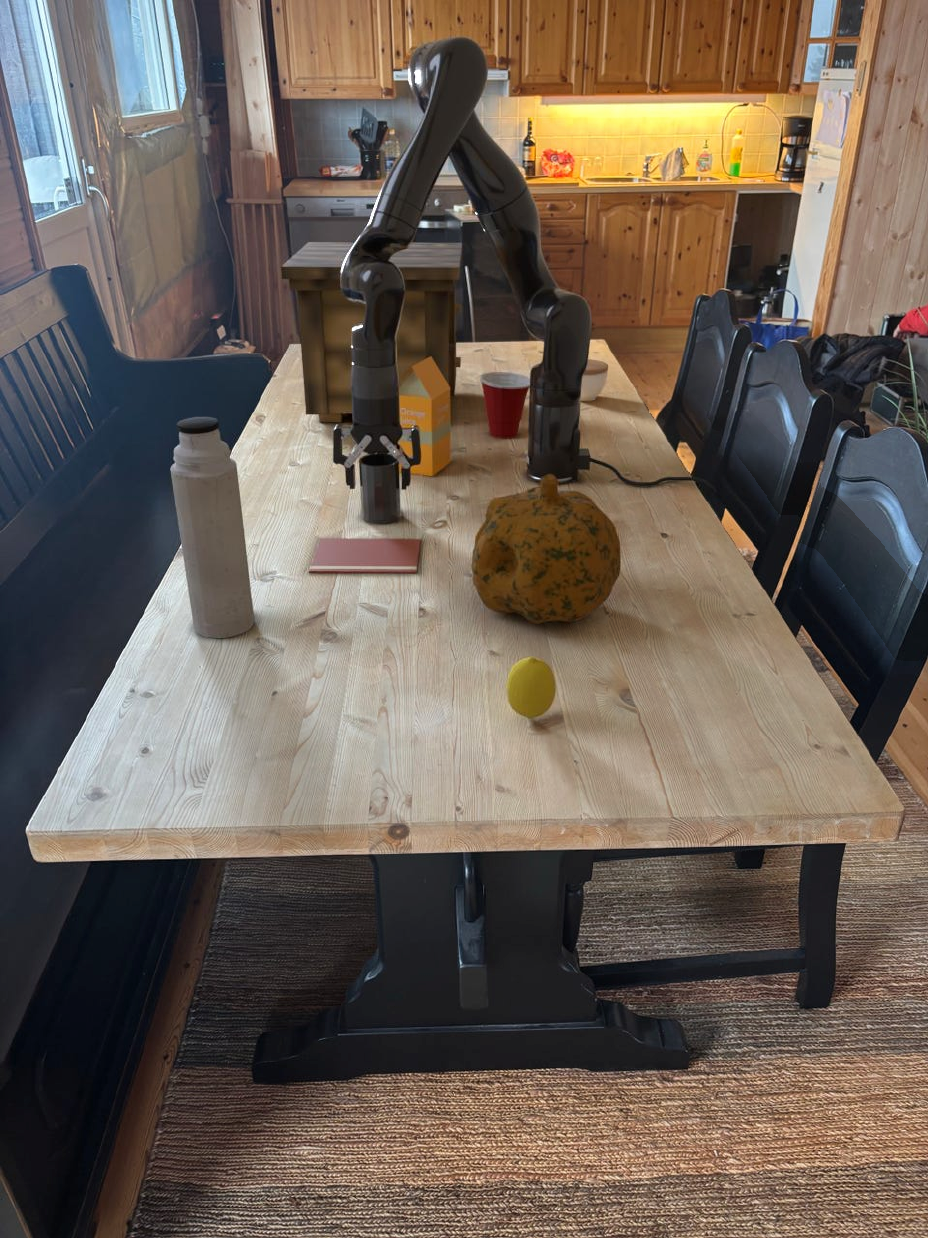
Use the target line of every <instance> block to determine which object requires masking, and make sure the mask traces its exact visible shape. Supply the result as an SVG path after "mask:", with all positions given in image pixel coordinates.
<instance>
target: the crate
mask: <svg viewBox="0 0 928 1238" xmlns="http://www.w3.org/2000/svg"><path fill="white" fill-rule="evenodd" d="M355 242H356V241H355ZM355 242H354V241H353V242H351V241H350V242H347V241H345V242H344V241H335V242H333V241H331V242H329V241H328V242H327V241H308V242H307V243H306V244H304V245H303V246H302V247H301V248H300V249H299V250H298V251H297V252H296V253H294V255H292V256H291V257H289V259H288V260H287V261H286V262H284V263H283V264H282V265H281V266H280V270H281V272H280V273H281V279H282V280H288V284H289V291H296V295H297V296H296V298H297V300H296V301H297V313H298V322H299V323H298V325H299V326H298V327H299V337H300V351H301V362H302V363H301V365H302V376H303V379H302V380H303V390H304V391H303V392H304V405H305V406H304V407H305V415H317V416H318V421H319V423H341V422H342V421H343V418H344V415H345V414H353V413H352V391H351V372H352V349H351V333H352V329H353V327H354V326H355V325H357V324H358V323H361V322H364V318H365V312H366V306H364V305H360V304H356V303H353V302H351V301H350V300H348V299H347V298H346V297H345V296H344V294H343V292H342V290H341V285H340V275H341V270H342V266H343V263H344V261H345V259H346V257H347V255H348V253H349V252H350V250H351V249H352V247H353V245H354V244H355ZM462 258H463V242H412V243H411V245H410V246H409V247H408V248H407V249H405V250H401V251H398V252H396V253H394V254H393V256H392V257H391V259H390V260H389V261H390V262H392V263H394V264H395V265H396V266H397V267H398V268H399V269H400V271H401V273H402V275H403V278H404V283H405V299H404V304H403V309H402V314H401V319H400V323H399V327H398V331H397V335H396V342H397V368H398V374H399V387H400V386H401V384H402V382H403V381H404V379H405V378H406V376H407V375H408V373H409V372H410V370H411V369H412V366H414V365H416V364H417V363H419V362H421V361H423V360H425V359H427V358H428V357H430V356H431V357H432V358H433V360H434V362H435V363H436V365H437V367H438V368H439V370H440V372H441V373H442V375H443V377H444V378H445V380H446V381H447V383H448V385H449V386H450V388H451V389H450V398H455V395H456V385H457V383H456V382H457V368H461V365H462V358H461V356H457V334H456V331H457V314H461V312H462V310H461V309H462V303H460V302H458V303H457V281H459V280H460V277H461V267H462Z"/></svg>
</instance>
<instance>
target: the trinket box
mask: <svg viewBox="0 0 928 1238" xmlns="http://www.w3.org/2000/svg"><path fill="white" fill-rule="evenodd" d="M608 370H609V364H608V363H607V362H605V361H601V360H597V359H592V358H591V359H589V358H588V363H587V367H586V370H585V372H584V374H583V377H582V387H581V402H591V401H594V400H596V399H597V397H598V396H599V395H600V394H601V393H602V392H603V391H604V389H605V387H606V384H607V379H608Z"/></svg>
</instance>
